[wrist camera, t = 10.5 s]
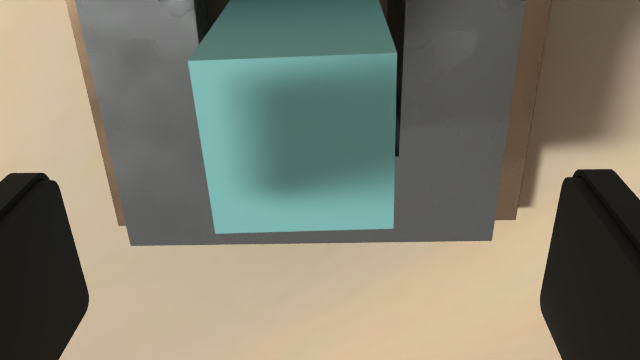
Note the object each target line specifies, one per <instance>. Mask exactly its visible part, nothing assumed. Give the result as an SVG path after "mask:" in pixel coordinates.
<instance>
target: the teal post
mask: <svg viewBox="0 0 640 360" xmlns="http://www.w3.org/2000/svg"><path fill="white" fill-rule="evenodd" d="M188 65H189V71H190V78H191V84H192V90H193V97H194V103H195V109H196V115H197V122H198V128H199V134H200V140H201V147H202V153H203V159H204V166H205V172H206V178H207V184H208V191H209V197H210V203H211V209H212V216H213V222H214V228H215V234H223V233H258V232H293V231H327V230H362V229H393V224H394V176H395V129H396V82H397V51H396V48H395V45H394V43H393V40H392V37H391V34H390V31H389V28H388V25H387V22H386V20H385V17H384V14H383V11H382V8H381V5H380V2H379V0H230V1H229V3H228V4H227V6H226V7H225V8H224V10H223V11H222V13H221V14H220V16H219V17H218V19H217V20H216V21H215V23H214V24H213V26H212V27H211V29H210V30H209V31H208V33H207V34H206V36H205V37H204V39H203V40H202V41H201V43H200V44H199V46H198V47H197V49H196V50H195V51H194V53H193V54H192V56H191V57H190V59H189V60H188Z"/></svg>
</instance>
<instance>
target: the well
mask: <svg viewBox="0 0 640 360" xmlns="http://www.w3.org/2000/svg"><path fill="white" fill-rule="evenodd" d="M229 1H230V0H66V4H67V8H68V12H69V16H70V21H71V25H72V29H73V33H74V38H75V42H76V46H77V50H78V55H79V59H80V63H81V68H82V72H83V76H84V80H85V85H86V89H87V93H88V97H89V102H90V106H91V110H92V114H93V119H94V123H95V127H96V131H97V136H98V140H99V144H100V148H101V153H102V157H103V161H104V165H105V170H106V174H107V178H108V182H109V187H110V191H111V195H112V199H113V204H114V208H115V212H116V216H117V221H118V225H119V226H126V227H127V231H128V236H129V240H130V244H131V246H148V245H219V244H291V243H362V242H433V241H492V235H493V228H494V221H495V220H516V215H517V208H518V202H519V196H520V190H521V184H522V178H523V172H524V166H525V160H526V153H527V147H528V141H529V135H530V129H531V123H532V117H533V111H534V105H535V98H536V92H537V86H538V80H539V74H540V68H541V62H542V56H543V50H544V43H545V37H546V31H547V25H548V19H549V13H550V7H551V1H552V0H379V2H380V5H381V8H382V11H383V14H384V17H385V20H386V22H387V25H388V28H389V31H390V34H391V37H392V40H393V43H394V45H395V48H396V51H397V82H396V129H395V176H394V224H393V229H362V230H327V231H293V232H258V233H223V234H215V228H214V222H213V216H212V209H211V203H210V197H209V191H208V184H207V178H206V172H205V166H204V159H203V153H202V147H201V140H200V134H199V128H198V122H197V115H196V109H195V103H194V97H193V90H192V84H191V78H190V71H189V65H188V60H189V59H190V57H191V56H192V54H193V53H194V51H195V50H196V49H197V47H198V46H199V44H200V43H201V41H202V40H203V39H204V37H205V36H206V34H207V33H208V31H209V30H210V29H211V27H212V26H213V24H214V23H215V21H216V20H217V19H218V17H219V16H220V14H221V13H222V11H223V10H224V8H225V7H226V6H227V4H228V3H229Z"/></svg>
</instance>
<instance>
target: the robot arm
mask: <svg viewBox="0 0 640 360" xmlns="http://www.w3.org/2000/svg"><path fill="white" fill-rule="evenodd" d="M88 303H89V294H88V290H87V286H86V282H85V279H84V275H83V272H82V268H81V264H80V261H79V257H78V254H77V250H76V246H75V243H74V239H73V235H72V232H71V228H70V225H69V221H68V217H67V214H66V210H65V207H64V203H63V199H62V196H61V192H60V189H59V186H58V184H57V183H56V182H55V181H53V180H50V179H49V178H48V176H47V175H46V174H44V173H11V174H9V175H7V176H6V177H5V178H4V179H3V180H2V181H1V182H0V360H59V358H60V356H61V354H62V353H63V351H64V349H65V348H66V346H67V344H68V342H69V341H70V339H71V337H72V336H73V334H74V332H75V330H76V329H77V327H78V325H79V323H80V322H81V320H82V318H83V317H84V315H85V313H86V311H87V308H88ZM540 306H541V311H542V314H543V317H544V319H545V321H546V324H547V326H548V328H549V330H550V333H551V335H552V337H553V340H554V342H555V344H556V346H557V349H558V351H559V353H560V355H561V358H562V360H640V200H639V199H638V197H637V196H636V195H635V194H634V193H633V192H632V191H631V190H630V188H629V187H628V186H627V185H626V184H625V183H624V182H623V180H622V179H621V178H620V177H619V176H618V175H617V174H616V173H615V172H614V171H613V170H612V169H583V170H577V171H576V172H575V173H574V175H573V177H567V178H565V179H564V181H563V184H562V188H561V193H560V198H559V203H558V208H557V213H556V218H555V223H554V228H553V233H552V238H551V243H550V248H549V253H548V258H547V264H546V269H545V274H544V279H543V284H542V289H541V295H540Z"/></svg>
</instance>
